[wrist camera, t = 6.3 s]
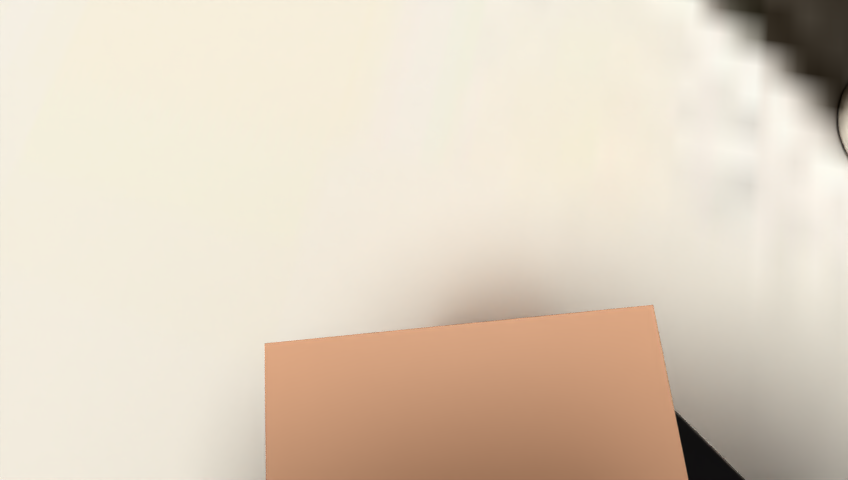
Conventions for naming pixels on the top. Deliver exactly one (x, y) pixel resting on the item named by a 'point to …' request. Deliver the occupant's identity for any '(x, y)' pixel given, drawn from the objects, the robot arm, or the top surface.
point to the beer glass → (843, 119)
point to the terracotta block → (476, 402)
